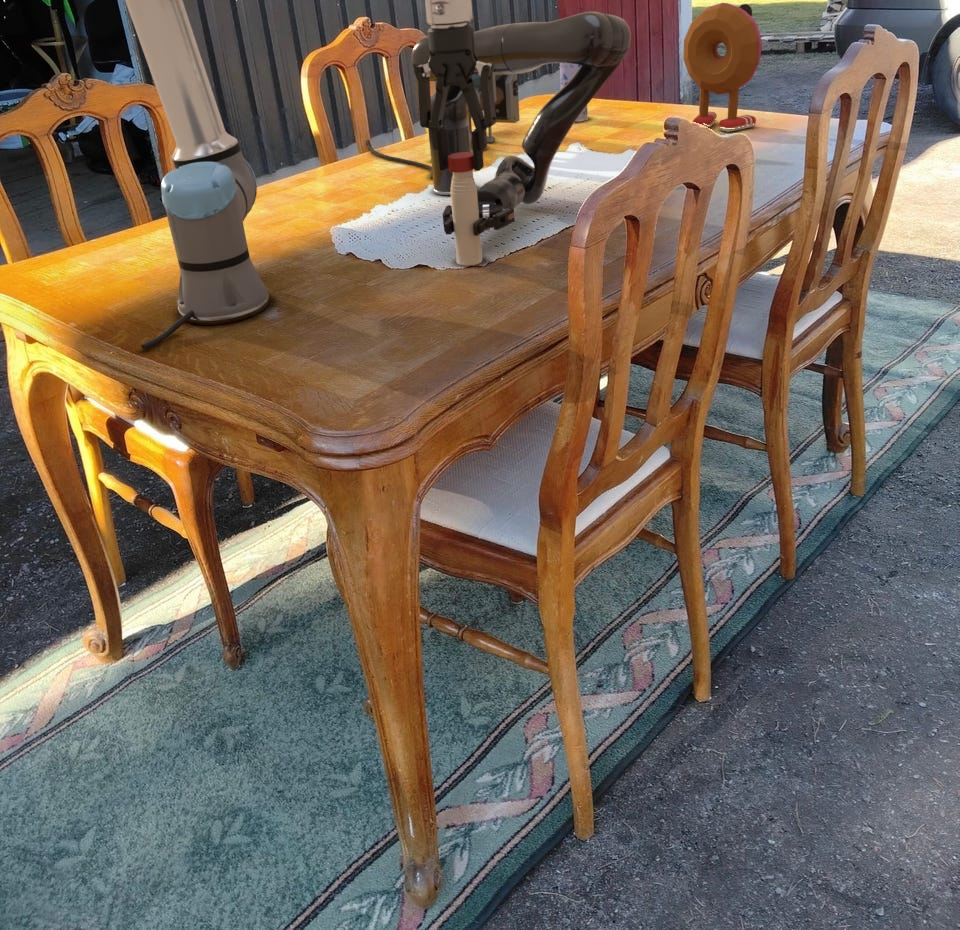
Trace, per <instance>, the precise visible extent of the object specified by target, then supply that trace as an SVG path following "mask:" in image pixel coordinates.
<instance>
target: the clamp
mask: <svg viewBox="0 0 960 930" xmlns="http://www.w3.org/2000/svg"><path fill="white" fill-rule="evenodd" d="M480 78H481V77H480V76H479V75H472V79H473V82H474V88H475V91H476V94H477V97H478V100H479V103H480V106H481V109H482V112H484V109H483V101H482V92H481V84H480ZM518 82H519V81H518V74H508V75H492V85H493V94H494V103H495V112H496V123H499V124H500V123H502V124H504V123H505V124H517V123H518V122H520V120H521V119H520V101H519V100H520V99H519V83H518ZM468 115H469V127H470V140H471V153H473V144H472V131H473V129H472V128H473V127H472V117H471V114H470V111H469V108H468ZM487 130H488V135H487V143H493V142H495V141H496V140H497V139H496V137H495V136H493V133H492V126H491V127H488V128H487ZM485 150H486V149H484V150H483V151H485Z"/></svg>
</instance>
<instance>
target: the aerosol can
mask: <svg viewBox="0 0 960 930" xmlns="http://www.w3.org/2000/svg"><path fill="white" fill-rule="evenodd" d="M580 66H581V65H578V64H570V63H559V79H560V81H559V83H560V84H559V85H560V90H561V89H562V88H563V87H564V86H565V85H566V84H567V83H568V82H569V81H570V79H571V78H572V77H573V76H574V75H575V73H576V72H577V70H578V69H579V67H580ZM587 120H589V116H588V105H587V106H586V107H585V108H584V110H583V111H582V112H581V114H580V115H579V116H578V118H577V119H576V121H575V122H574V123H580V122H584V121H587Z"/></svg>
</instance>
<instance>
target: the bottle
mask: <svg viewBox="0 0 960 930" xmlns="http://www.w3.org/2000/svg"><path fill="white" fill-rule="evenodd" d="M450 189H451V191H450V193H451V195H450V202H451V204H450V206H452V216H453V227H454V232H453V236H454V249H455V257H456V264H457V265H459V266H465V267H466V266H467V267H469V266H475V265H478V264H481V263H482V262H483V249H482V238H481V234H480V235H478V236H474V232H473V224H474V223H475V222H476V221H477V220H478V219H479V209H478V196H477V190H478V188H477V185H476V181H475V178H474V173H473V174H472V171H468V172H461V173H455V172H453V176H452V180H451V188H450Z"/></svg>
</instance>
